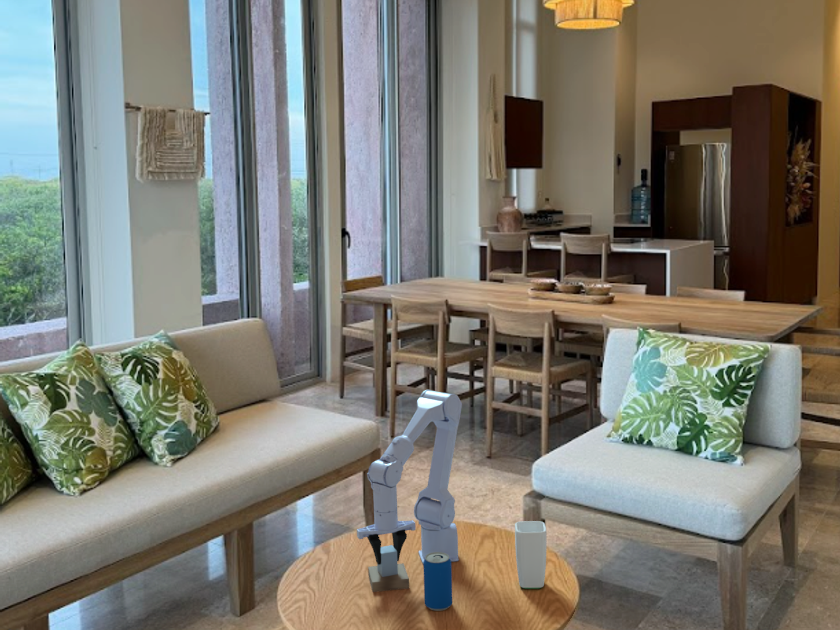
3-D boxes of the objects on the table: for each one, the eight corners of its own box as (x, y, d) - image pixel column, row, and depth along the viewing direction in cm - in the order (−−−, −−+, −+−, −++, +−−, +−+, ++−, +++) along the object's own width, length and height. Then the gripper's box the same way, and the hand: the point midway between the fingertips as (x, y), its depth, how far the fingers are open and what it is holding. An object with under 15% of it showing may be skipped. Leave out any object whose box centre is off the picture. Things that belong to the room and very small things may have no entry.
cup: (544, 578, 223) (544, 520, 220) (547, 591, 215) (547, 532, 213) (515, 578, 223) (514, 521, 221) (517, 591, 216) (516, 532, 214)
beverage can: (455, 601, 212) (454, 553, 210) (447, 614, 206) (446, 564, 204) (429, 598, 214) (428, 550, 212) (420, 610, 208) (419, 561, 206)
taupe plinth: (403, 574, 228) (403, 563, 228) (409, 590, 219) (408, 578, 219) (368, 578, 227) (368, 566, 226) (372, 594, 218) (372, 582, 218)
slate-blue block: (392, 567, 225) (392, 545, 224) (397, 574, 222) (397, 551, 221) (377, 570, 224) (376, 547, 223) (382, 576, 220) (381, 553, 219)
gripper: (408, 499, 226) (410, 550, 228) (352, 507, 222) (354, 560, 224) (417, 508, 220) (419, 561, 222) (360, 517, 215) (362, 571, 217)
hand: (387, 561), depth 222 cm, fingers closed on slate-blue block, 4 cm apart
